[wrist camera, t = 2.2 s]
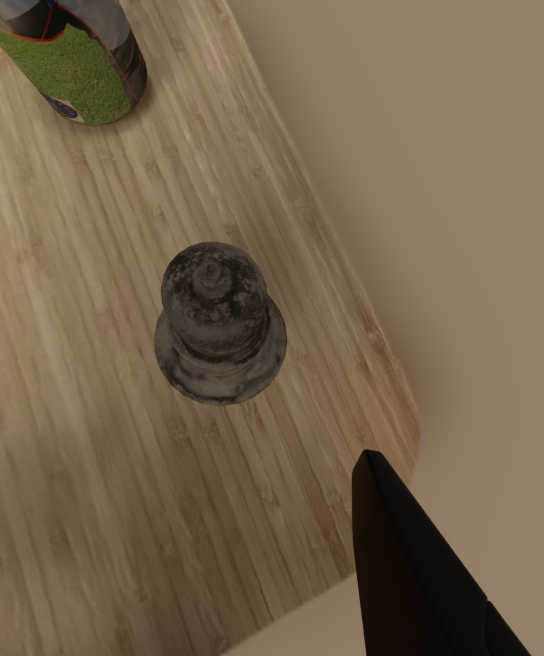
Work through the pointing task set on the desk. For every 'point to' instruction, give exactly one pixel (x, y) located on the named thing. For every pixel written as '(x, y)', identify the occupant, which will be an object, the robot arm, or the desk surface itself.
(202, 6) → the desk surface
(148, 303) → the desk surface
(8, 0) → the beverage can
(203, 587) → the desk surface
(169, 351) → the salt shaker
